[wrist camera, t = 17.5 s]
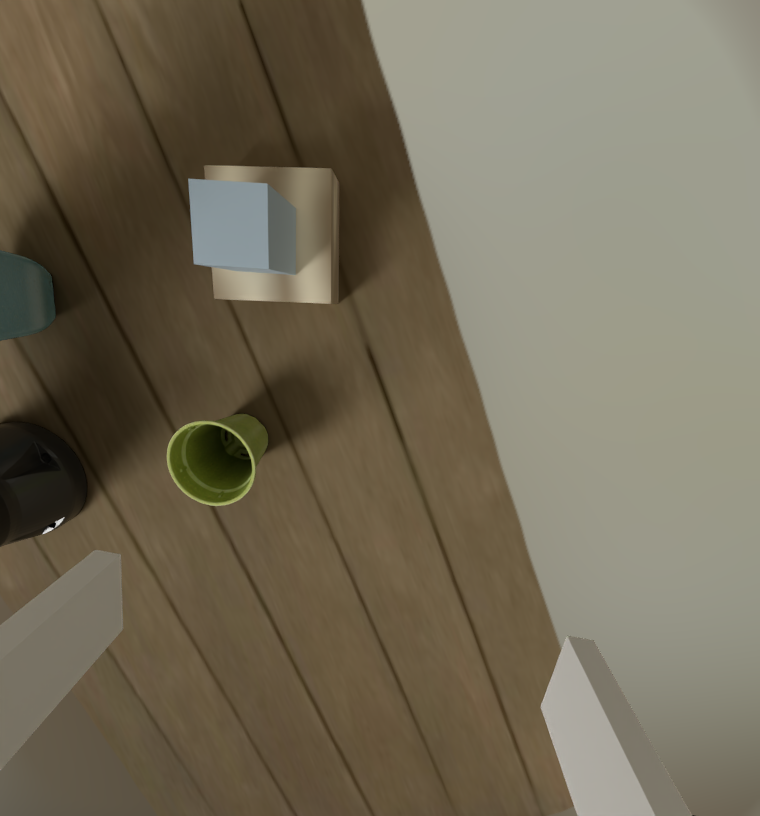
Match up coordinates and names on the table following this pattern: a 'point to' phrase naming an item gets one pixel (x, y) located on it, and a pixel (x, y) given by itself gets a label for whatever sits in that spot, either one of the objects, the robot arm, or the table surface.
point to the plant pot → (217, 458)
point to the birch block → (314, 237)
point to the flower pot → (24, 296)
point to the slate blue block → (242, 227)
